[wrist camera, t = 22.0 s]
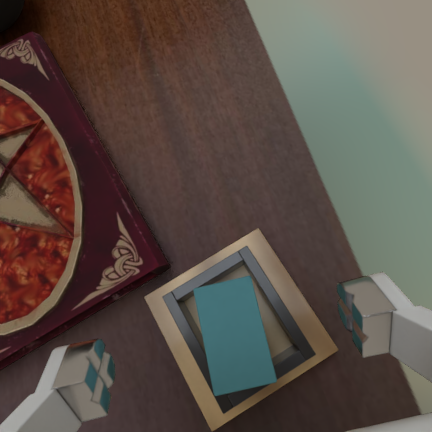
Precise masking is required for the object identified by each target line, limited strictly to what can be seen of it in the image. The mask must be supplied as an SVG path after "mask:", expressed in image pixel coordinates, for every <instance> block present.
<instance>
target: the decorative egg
mask: <svg viewBox="0 0 432 432" xmlns="http://www.w3.org/2000/svg"><path fill="white" fill-rule="evenodd" d="M24 1H25V0H0V32H2V31H4V30H6V29H8V28H9V27H10V26H11V25H13V24H14V22H15V21H16V20H17V19H18V17H19V15H20V13H21V11H22V9H23V5H24Z"/></svg>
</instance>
